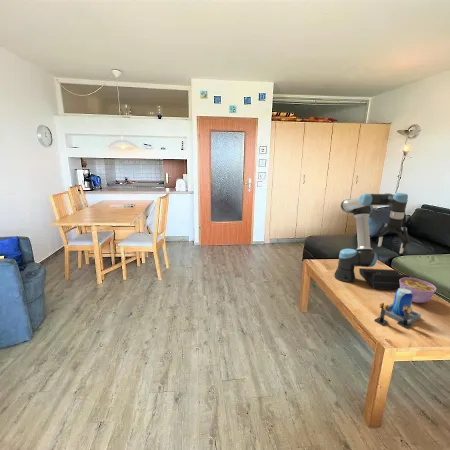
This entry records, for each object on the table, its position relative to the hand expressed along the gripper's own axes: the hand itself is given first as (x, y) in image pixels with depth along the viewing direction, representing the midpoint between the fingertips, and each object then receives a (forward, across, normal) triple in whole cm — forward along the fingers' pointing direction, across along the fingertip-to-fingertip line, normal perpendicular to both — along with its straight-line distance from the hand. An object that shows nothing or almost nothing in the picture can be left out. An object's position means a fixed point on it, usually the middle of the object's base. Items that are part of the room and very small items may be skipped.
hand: (389, 249), depth 167 cm
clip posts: (+34, +21, -25) cm, 47 cm away
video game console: (+36, -11, +24) cm, 45 cm away
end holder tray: (+34, +19, -12) cm, 41 cm away
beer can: (+34, +18, -12) cm, 40 cm away
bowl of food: (+35, +14, +16) cm, 41 cm away
